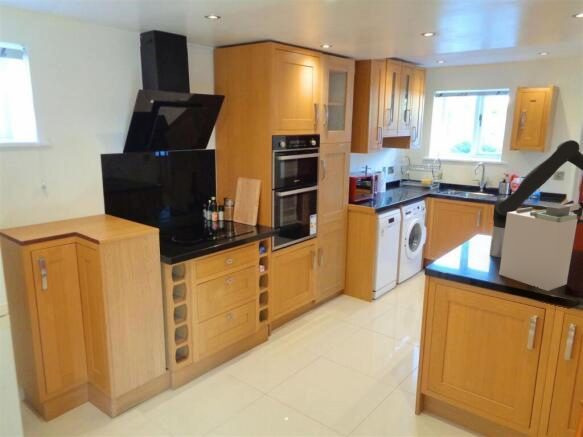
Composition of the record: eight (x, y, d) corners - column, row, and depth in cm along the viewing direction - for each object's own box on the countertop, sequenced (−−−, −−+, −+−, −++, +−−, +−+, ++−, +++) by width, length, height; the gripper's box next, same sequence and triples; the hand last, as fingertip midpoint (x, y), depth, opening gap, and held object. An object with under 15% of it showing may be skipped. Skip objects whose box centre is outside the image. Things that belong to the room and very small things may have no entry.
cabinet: (517, 268, 220) (526, 205, 213) (566, 284, 200) (578, 214, 192) (499, 274, 213) (507, 208, 205) (547, 290, 192) (559, 218, 185)
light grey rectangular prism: (569, 212, 205) (571, 202, 204) (580, 214, 201) (582, 204, 200) (545, 217, 195) (547, 206, 193) (556, 219, 190) (558, 208, 189)
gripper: (582, 191, 216) (556, 205, 214) (607, 207, 206) (580, 222, 205) (578, 201, 221) (553, 215, 220) (603, 217, 212) (576, 232, 210)
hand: (566, 218), depth 212 cm, fingers open, 8 cm apart
